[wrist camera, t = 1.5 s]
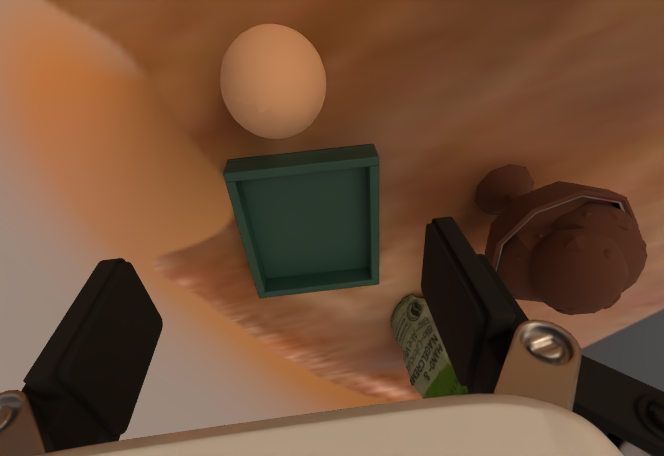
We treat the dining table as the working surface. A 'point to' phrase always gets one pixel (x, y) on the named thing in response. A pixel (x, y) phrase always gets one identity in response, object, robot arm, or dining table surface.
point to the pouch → (424, 350)
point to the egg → (273, 81)
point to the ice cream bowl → (560, 241)
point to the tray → (308, 218)
